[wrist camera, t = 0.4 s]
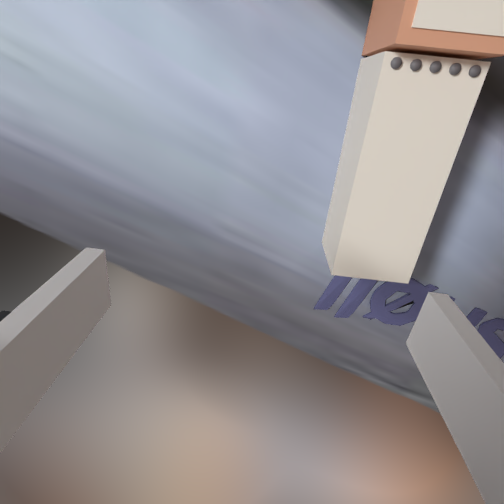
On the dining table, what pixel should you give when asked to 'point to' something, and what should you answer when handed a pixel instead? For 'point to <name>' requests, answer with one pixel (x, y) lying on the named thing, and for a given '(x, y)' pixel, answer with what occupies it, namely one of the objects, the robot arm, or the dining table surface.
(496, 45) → the tan box
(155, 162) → the dining table surface
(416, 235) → the pad
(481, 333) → the signage
